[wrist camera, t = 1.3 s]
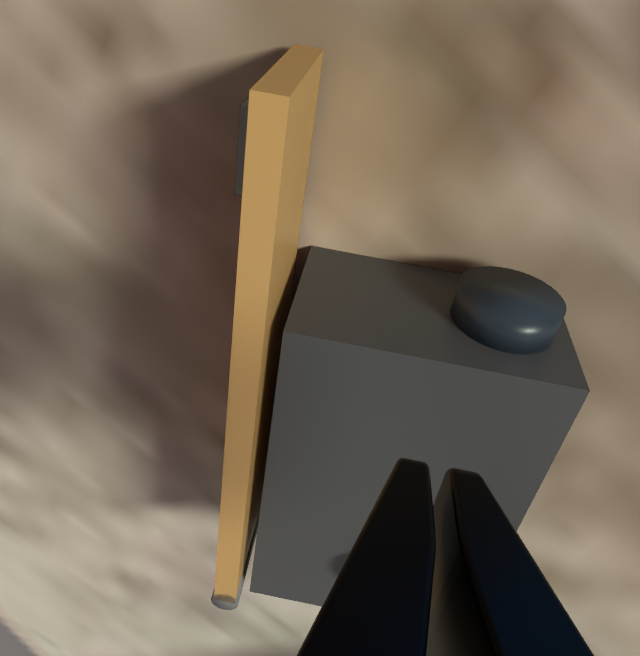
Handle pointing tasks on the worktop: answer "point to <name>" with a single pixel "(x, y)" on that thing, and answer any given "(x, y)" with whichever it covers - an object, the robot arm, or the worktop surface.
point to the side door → (262, 292)
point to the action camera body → (405, 401)
